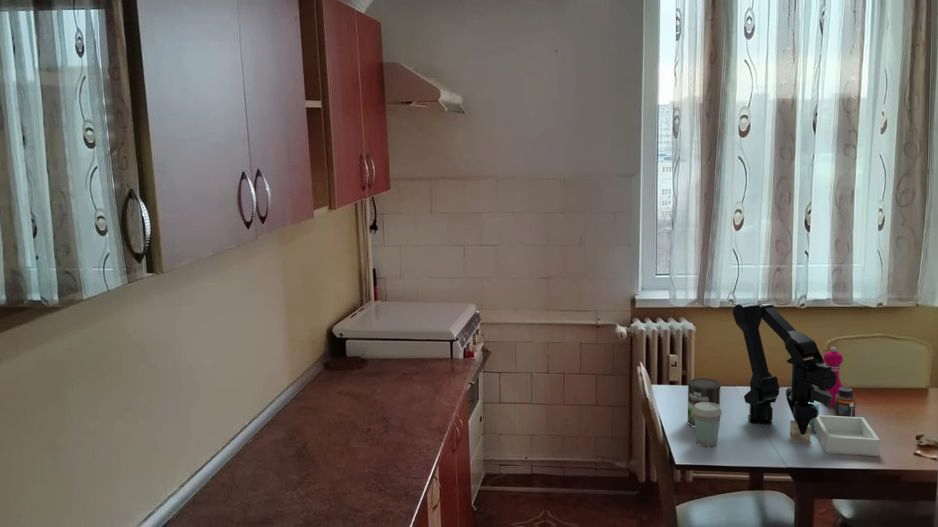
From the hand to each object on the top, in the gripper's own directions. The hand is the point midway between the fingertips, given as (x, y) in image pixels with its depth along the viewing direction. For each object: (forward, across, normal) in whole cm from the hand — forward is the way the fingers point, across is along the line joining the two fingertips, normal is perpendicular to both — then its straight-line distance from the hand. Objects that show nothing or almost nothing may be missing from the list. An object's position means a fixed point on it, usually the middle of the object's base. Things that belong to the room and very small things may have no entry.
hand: (800, 428), depth 227 cm
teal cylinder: (+3, +12, -5) cm, 13 cm away
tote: (+3, -1, -13) cm, 13 cm away
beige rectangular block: (+3, 0, 0) cm, 3 cm away
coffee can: (+4, +8, +28) cm, 29 cm away
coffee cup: (+4, -8, +28) cm, 29 cm away
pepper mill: (+4, +35, -16) cm, 39 cm away
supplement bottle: (+4, +16, -16) cm, 23 cm away
